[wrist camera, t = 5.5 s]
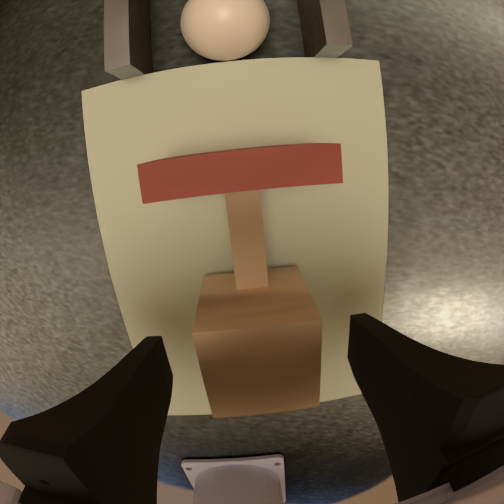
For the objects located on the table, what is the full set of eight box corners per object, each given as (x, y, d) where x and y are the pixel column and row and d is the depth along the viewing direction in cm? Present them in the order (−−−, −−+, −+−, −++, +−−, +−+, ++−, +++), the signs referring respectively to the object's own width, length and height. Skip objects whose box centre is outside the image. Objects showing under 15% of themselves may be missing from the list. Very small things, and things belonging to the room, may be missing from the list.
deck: (363, 376, 19) (370, 391, 17) (162, 398, 18) (158, 415, 17) (366, 67, 13) (378, 61, 11) (94, 95, 12) (81, 91, 11)
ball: (271, -32, 8) (261, -7, 11) (170, -22, 8) (183, 1, 11) (279, 53, 10) (268, 60, 13) (178, 63, 10) (190, 68, 13)
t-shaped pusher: (319, 339, 15) (344, 401, 11) (196, 352, 15) (187, 418, 11) (313, 142, 12) (352, 144, 8) (162, 158, 12) (126, 167, 8)
